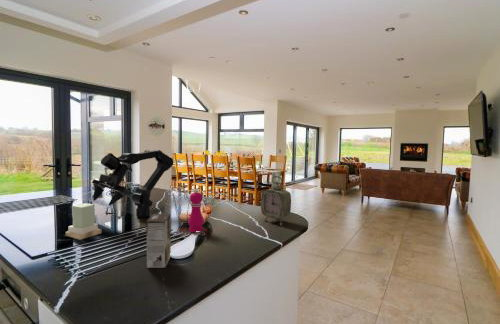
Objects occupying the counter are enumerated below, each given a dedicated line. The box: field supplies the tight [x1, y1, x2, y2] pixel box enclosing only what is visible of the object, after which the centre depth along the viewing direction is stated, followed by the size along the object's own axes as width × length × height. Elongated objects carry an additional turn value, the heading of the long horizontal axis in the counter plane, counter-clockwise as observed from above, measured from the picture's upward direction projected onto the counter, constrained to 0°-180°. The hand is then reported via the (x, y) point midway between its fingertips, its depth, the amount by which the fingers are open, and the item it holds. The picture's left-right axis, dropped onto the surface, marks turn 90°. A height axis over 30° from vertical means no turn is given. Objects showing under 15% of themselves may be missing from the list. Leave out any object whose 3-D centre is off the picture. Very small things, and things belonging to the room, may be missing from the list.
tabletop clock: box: [260, 175, 292, 226], centre depth 147 cm, size 14×9×25 cm, turn 47°
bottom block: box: [65, 228, 102, 241], centre depth 123 cm, size 10×10×2 cm
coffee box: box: [146, 213, 172, 269], centre depth 96 cm, size 9×6×16 cm
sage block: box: [71, 202, 96, 228], centre depth 123 cm, size 6×6×9 cm
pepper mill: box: [187, 188, 205, 234], centre depth 131 cm, size 7×7×20 cm
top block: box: [67, 222, 99, 234], centre depth 123 cm, size 8×8×2 cm
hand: (101, 202), depth 133 cm, fingers open, 9 cm apart
